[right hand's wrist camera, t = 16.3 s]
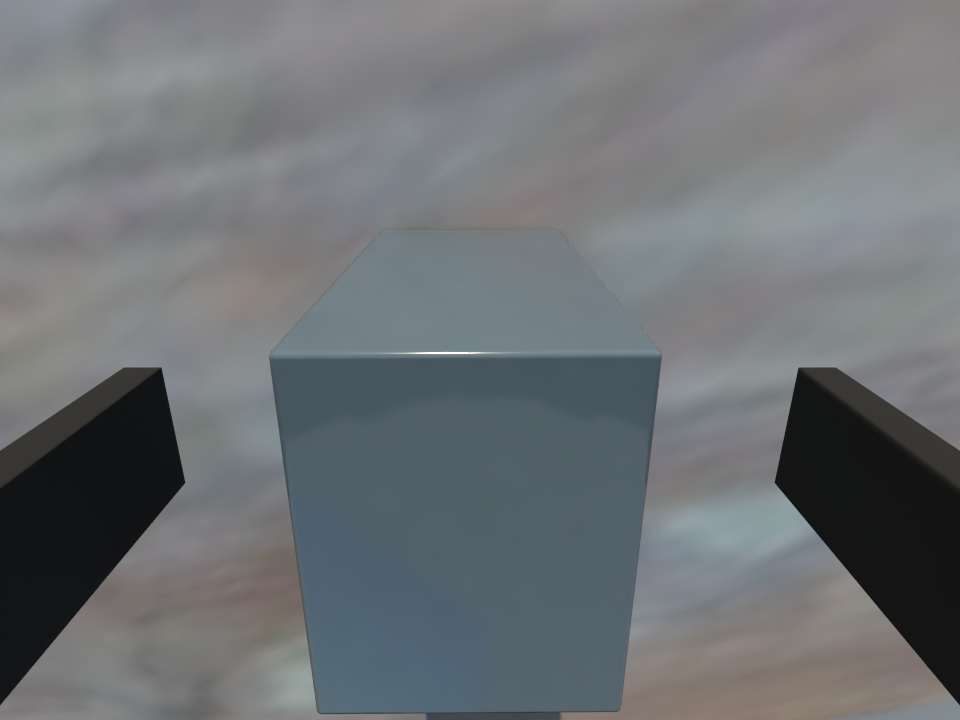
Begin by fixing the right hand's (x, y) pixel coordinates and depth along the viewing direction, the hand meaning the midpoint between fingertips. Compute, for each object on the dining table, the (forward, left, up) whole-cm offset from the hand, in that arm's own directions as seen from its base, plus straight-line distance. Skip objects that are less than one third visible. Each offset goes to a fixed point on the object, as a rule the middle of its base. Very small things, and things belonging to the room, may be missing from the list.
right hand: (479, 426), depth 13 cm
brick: (0, 0, -6) cm, 6 cm away
